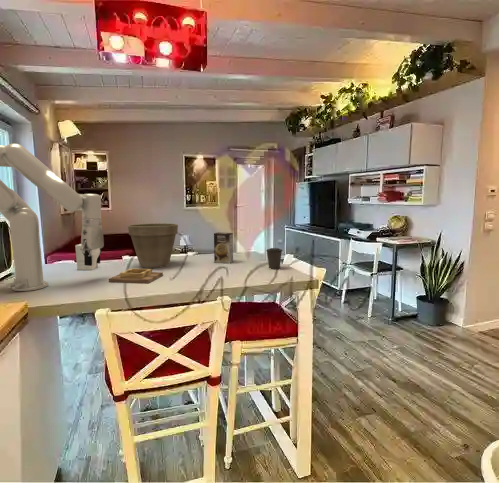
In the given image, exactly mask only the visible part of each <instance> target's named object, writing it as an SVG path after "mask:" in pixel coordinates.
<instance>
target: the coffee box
mask: <svg viewBox="0 0 499 483" xmlns="http://www.w3.org/2000/svg"><path fill="white" fill-rule="evenodd" d="M213 255H214V256H213V257H214V258H213V261H214V262H213V263H215V264H229V263H230V262H231V263H233V262H234V233H233V232H215V233H213ZM232 261H233V262H232ZM231 263H230V264H231Z"/></svg>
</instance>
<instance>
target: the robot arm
mask: <svg viewBox="0 0 499 483" xmlns="http://www.w3.org/2000/svg"><path fill="white" fill-rule="evenodd" d="M40 160H41V159H40ZM40 160H39V159H38V158H37V157H36V156H35V155H34V154H33V153H32V152H30V151H29V150H28V149H27V148H26V147H24V146H23V145H21V144H20V143H9V144H7V145H2V144H1V145H0V167H1V168H2V167H3V168H13V169H14V170H15V171H17V172H18V173H19V174H21V175H22V176H23V178H26V179H27V180H28V181H30V183H32V184H33V185H34V186H36V187H37V188H38V189H40V190H42V191H43V192H45V193H47V194H48V195H49V196H50V197H51V198H53V199H54V200H55V201H56V202H57V203H59V204H60V205H61V206H62V208H64V209H65V210H67V211H70V212H76V211H78V210H79V211H80V210H81V225H82V227H81V232H80V233H81V234H80V236H81V238H80V244H81V248H80V250H81V251H82V253H83V256H84V264H85V265H86V266H92V256H91V252H92V250H94V249H98V248H100V254H99V256H98V258H97V263H98V264H101V254H102V252H101V251H102V250H103V248H104V246H105V238H104V230H103V226H102V198H101V195H100V194H97V193H84V194H83V193H78V192H77V191H75V190H74V189H73V188H72V187H71V186H70V185H69V184H68V183H66V182H65V181H64V180H62V179H61V178H60V177H59V176H58V175H57V174H56V173H55V172H54V171H53V170H51V169H50V167H48V166H47V165H46V164H44V163H43V162H42V161H40ZM0 214H1V215H2V216H3V217H4V218H5V220H7V221H8V223H9V230H10V236H11V238H10V239H11V246H12V256H13V257H12V258H13V264H14V278H13V281H12V282H9V283H6V285H5V287H6V289H11V291H14V292H28V291H30V292H31V291H35V290H41V289H43V288H47V287H48V286H49V282H48V281H44V271H43V269H44V268H43V261H42V248H41V247H42V246H41V238H40V236H41V235H40V223H39V222H40V221H39V217H38V215H37V213H36V212H35V211H34V210H33V209H32V208H31V207H30V206H29V205H28V204H27V203H26V202H25V200H24V199H23V198H22V197H21V196H20V195H19V194H18V193H17V192H16V190H14V189H12V188H10V187H8V186H7V185H6V183H4V182H3V180H1V179H0ZM87 248H90V249H87ZM88 251H89V253H88Z"/></svg>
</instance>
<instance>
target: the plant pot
mask: <svg viewBox="0 0 499 483" xmlns="http://www.w3.org/2000/svg"><path fill="white" fill-rule="evenodd" d="M178 227H179V225H178V224H177V223H167V222H165V223H161V222H160V223H139V224H130V225H129V224H128V225H127V229H128V235H129V236H130V238H131V242H132V245H133V247H134V251H135V253H136V257H137V261H138V263H139V266H140V267H141V268H143V269H156V268H159V269H160V268H165V267H167V266H169V264H170V262H171V258H172V253H173V249H174V244H175V240H176V236H177V234H178V229H179V228H178Z"/></svg>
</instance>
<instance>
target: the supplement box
mask: <svg viewBox="0 0 499 483" xmlns="http://www.w3.org/2000/svg"><path fill="white" fill-rule="evenodd" d="M74 246H75V256H76V259H75V260H76V268H77V269H76V270H78V271H92V269H90V267H89V266H86V265H85V264H84V256H83V253H82V251H81V250H80V248H81V243H79V244H75V245H74ZM98 264H99V263H96V268H95V269H97V268H98Z"/></svg>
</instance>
